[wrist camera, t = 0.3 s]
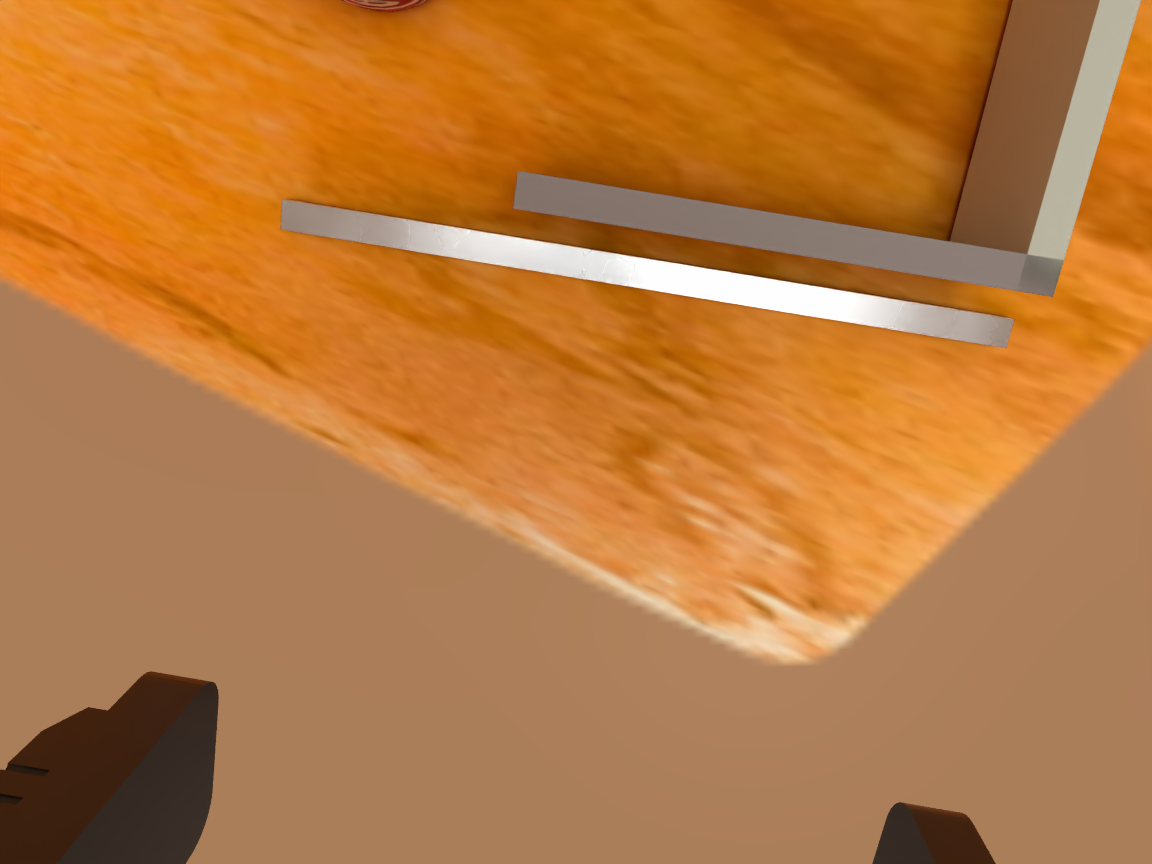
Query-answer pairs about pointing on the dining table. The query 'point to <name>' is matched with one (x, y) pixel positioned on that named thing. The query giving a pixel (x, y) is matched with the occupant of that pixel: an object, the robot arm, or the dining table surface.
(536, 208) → the gray u-shaped wall
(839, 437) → the dining table surface
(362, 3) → the soda can
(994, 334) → the rails
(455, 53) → the dining table surface
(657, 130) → the dining table surface
